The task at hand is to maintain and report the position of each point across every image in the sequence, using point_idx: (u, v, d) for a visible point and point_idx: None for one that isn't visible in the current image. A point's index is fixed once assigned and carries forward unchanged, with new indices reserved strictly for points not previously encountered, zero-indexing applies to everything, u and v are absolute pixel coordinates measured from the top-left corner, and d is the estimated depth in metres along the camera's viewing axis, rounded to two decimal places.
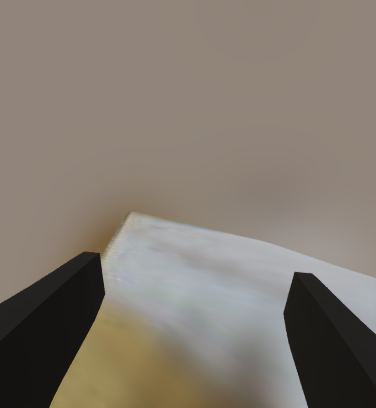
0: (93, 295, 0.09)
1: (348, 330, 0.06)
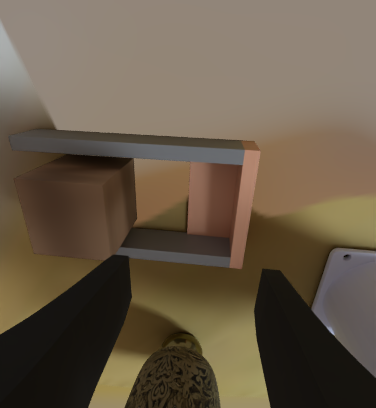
0: (123, 298, 0.09)
1: (301, 325, 0.06)
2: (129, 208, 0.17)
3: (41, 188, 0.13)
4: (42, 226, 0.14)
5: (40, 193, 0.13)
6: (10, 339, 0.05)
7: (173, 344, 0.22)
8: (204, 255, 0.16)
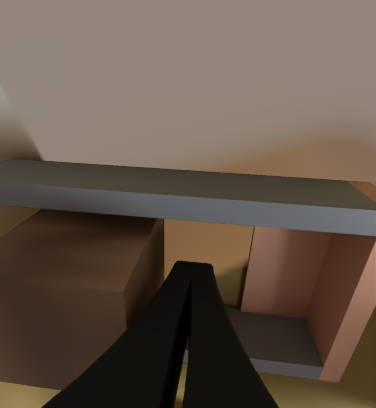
0: None
1: (202, 314, 0.06)
2: (157, 284, 0.10)
3: (4, 291, 0.06)
4: (10, 346, 0.07)
5: (3, 299, 0.07)
6: (123, 353, 0.05)
7: None
8: (279, 362, 0.10)
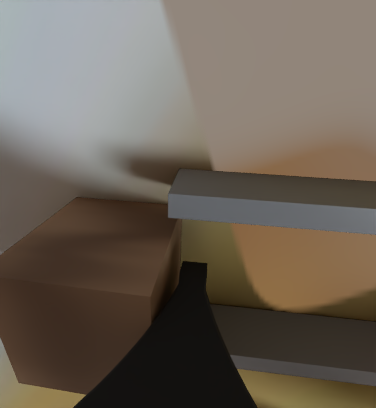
0: None
1: (187, 312, 0.06)
2: (174, 286, 0.10)
3: (28, 293, 0.06)
4: (31, 348, 0.07)
5: (27, 301, 0.07)
6: (145, 357, 0.05)
7: None
8: None
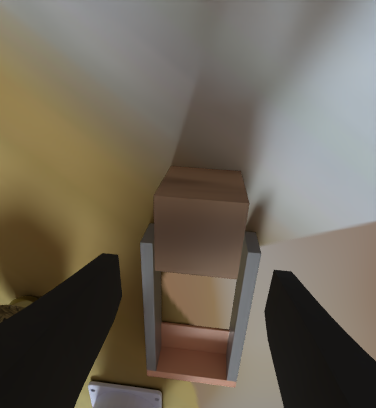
0: (112, 297, 0.09)
1: (318, 327, 0.06)
2: None
3: (236, 227, 0.12)
4: (191, 216, 0.12)
5: (230, 225, 0.12)
6: None
7: None
8: (154, 358, 0.21)
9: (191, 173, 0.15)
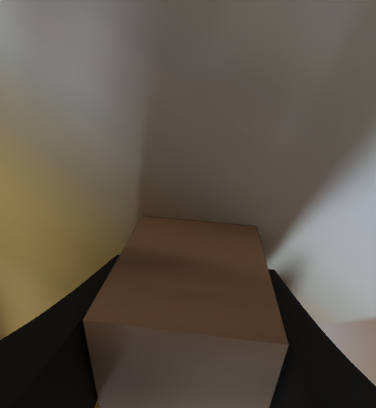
0: None
1: (293, 324, 0.06)
2: None
3: (258, 380, 0.06)
4: (165, 357, 0.06)
5: (246, 376, 0.06)
6: (18, 340, 0.05)
7: None
8: None
9: (173, 236, 0.09)
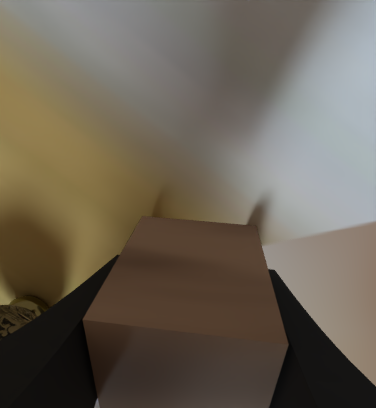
0: None
1: (293, 324, 0.06)
2: None
3: (258, 380, 0.06)
4: (164, 356, 0.06)
5: (246, 376, 0.06)
6: (18, 340, 0.05)
7: None
8: None
9: (173, 236, 0.09)
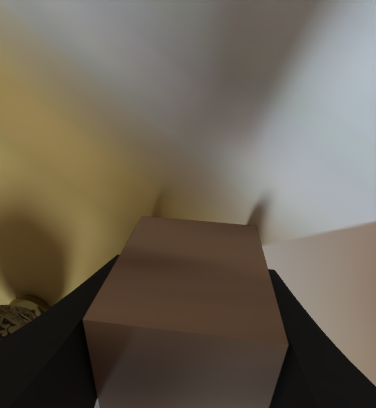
0: None
1: (293, 324, 0.06)
2: None
3: (258, 380, 0.06)
4: (164, 356, 0.06)
5: (246, 376, 0.06)
6: (18, 340, 0.05)
7: None
8: None
9: (173, 236, 0.09)
